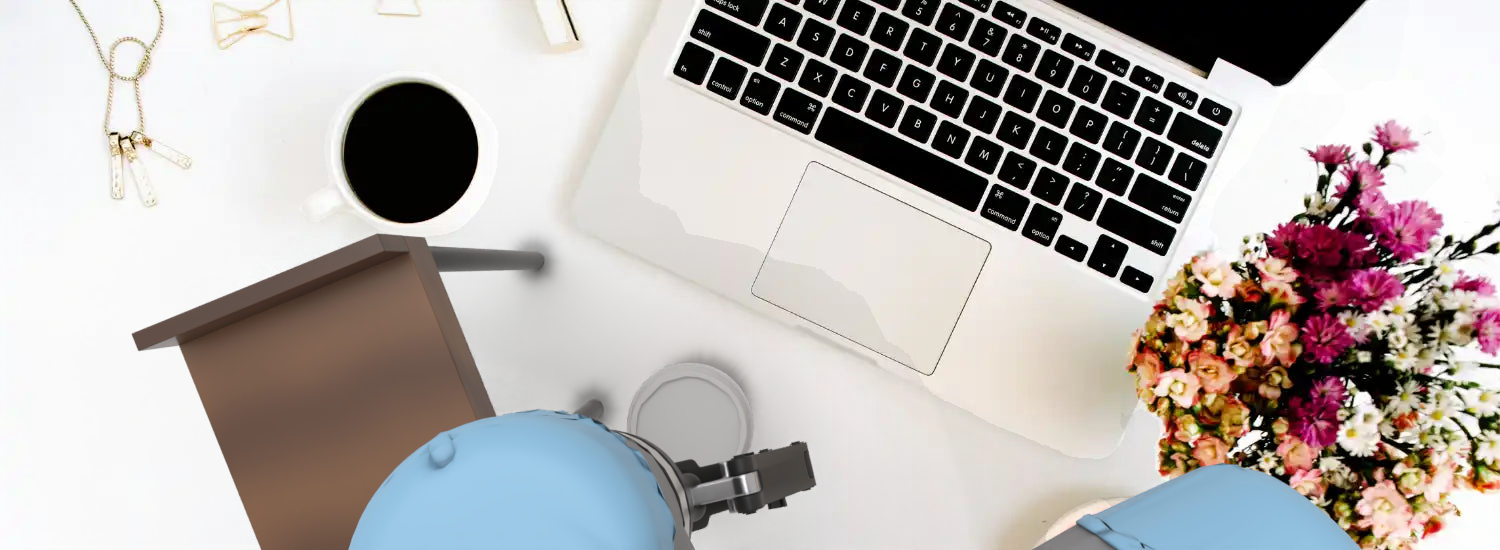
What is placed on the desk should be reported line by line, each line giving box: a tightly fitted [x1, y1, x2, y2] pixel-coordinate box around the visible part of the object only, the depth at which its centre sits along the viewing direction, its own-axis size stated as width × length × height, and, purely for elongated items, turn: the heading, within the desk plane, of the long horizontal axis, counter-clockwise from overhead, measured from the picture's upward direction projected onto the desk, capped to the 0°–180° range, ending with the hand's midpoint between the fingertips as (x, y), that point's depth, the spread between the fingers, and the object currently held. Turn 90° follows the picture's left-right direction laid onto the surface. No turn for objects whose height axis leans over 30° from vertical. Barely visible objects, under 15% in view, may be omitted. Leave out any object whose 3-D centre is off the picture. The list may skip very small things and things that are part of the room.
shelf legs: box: [428, 245, 604, 421], centre depth 62 cm, size 16×14×25 cm
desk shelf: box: [131, 232, 497, 550], centre depth 47 cm, size 16×14×6 cm
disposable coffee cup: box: [626, 362, 755, 467], centre depth 69 cm, size 10×10×12 cm
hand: (643, 499), depth 54 cm, fingers open, 13 cm apart
